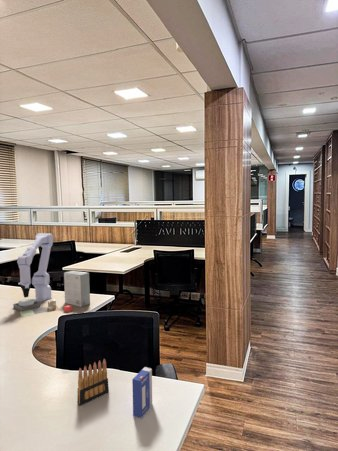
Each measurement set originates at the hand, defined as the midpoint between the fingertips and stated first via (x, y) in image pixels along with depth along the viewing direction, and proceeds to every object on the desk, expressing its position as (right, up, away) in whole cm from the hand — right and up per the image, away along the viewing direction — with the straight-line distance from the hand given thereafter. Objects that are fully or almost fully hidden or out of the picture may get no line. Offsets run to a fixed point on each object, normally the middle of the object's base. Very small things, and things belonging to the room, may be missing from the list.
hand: (26, 297), depth 197 cm
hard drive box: (+29, -6, +7) cm, 31 cm away
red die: (+28, -7, -7) cm, 29 cm away
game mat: (+11, -7, -6) cm, 14 cm away
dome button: (0, -5, 0) cm, 5 cm away
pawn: (+17, -6, -2) cm, 18 cm away
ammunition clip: (+62, -14, -90) cm, 110 cm away
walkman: (+79, -14, -96) cm, 125 cm away
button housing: (0, -7, +1) cm, 7 cm away
